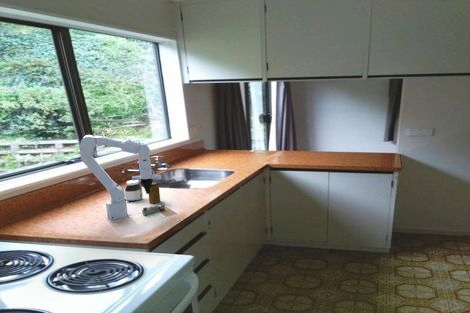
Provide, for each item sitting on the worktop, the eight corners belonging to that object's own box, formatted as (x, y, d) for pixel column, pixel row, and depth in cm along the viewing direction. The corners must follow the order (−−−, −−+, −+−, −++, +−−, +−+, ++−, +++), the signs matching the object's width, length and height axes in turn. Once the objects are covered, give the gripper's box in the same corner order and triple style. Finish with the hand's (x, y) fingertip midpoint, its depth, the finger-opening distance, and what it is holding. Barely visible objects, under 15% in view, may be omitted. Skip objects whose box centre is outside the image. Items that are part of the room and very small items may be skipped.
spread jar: (136, 203, 182) (134, 183, 180) (118, 203, 185) (116, 183, 183) (146, 196, 194) (144, 178, 192) (129, 196, 196) (127, 178, 194)
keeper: (145, 213, 163) (145, 208, 162) (144, 212, 164) (144, 207, 164) (153, 211, 165) (153, 206, 164) (152, 210, 166) (151, 206, 166)
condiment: (150, 202, 183) (147, 182, 181) (165, 201, 184) (163, 181, 182) (147, 206, 176) (145, 185, 174) (163, 205, 177) (161, 184, 175)
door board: (138, 226, 149) (137, 224, 149) (129, 218, 160) (129, 216, 160) (177, 215, 160) (177, 213, 160) (167, 208, 171) (166, 206, 171)
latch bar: (163, 208, 168) (162, 202, 168) (166, 209, 166) (165, 203, 165) (142, 214, 161) (141, 207, 160) (145, 215, 159) (144, 209, 158)
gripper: (161, 165, 166) (164, 190, 169) (134, 166, 167) (137, 191, 170) (157, 168, 159) (160, 194, 162) (129, 169, 160) (132, 195, 163)
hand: (148, 193), depth 165 cm, fingers closed
